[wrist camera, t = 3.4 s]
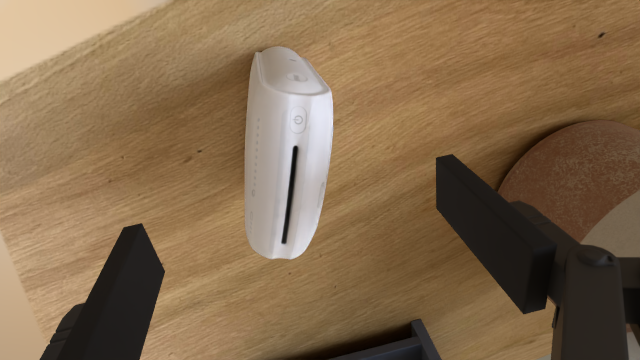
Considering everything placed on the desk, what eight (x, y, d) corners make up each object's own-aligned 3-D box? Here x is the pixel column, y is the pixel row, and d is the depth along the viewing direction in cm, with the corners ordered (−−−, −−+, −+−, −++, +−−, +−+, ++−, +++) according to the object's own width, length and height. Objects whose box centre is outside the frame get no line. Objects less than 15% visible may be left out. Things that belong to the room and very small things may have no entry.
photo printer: (249, 40, 26) (252, 84, 15) (311, 47, 27) (354, 95, 16) (242, 173, 30) (239, 280, 20) (294, 176, 31) (319, 279, 21)
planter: (642, 209, 40) (808, 306, 28) (507, 279, 42) (611, 398, 30) (630, 83, 33) (851, 144, 21) (466, 174, 34) (584, 280, 22)
